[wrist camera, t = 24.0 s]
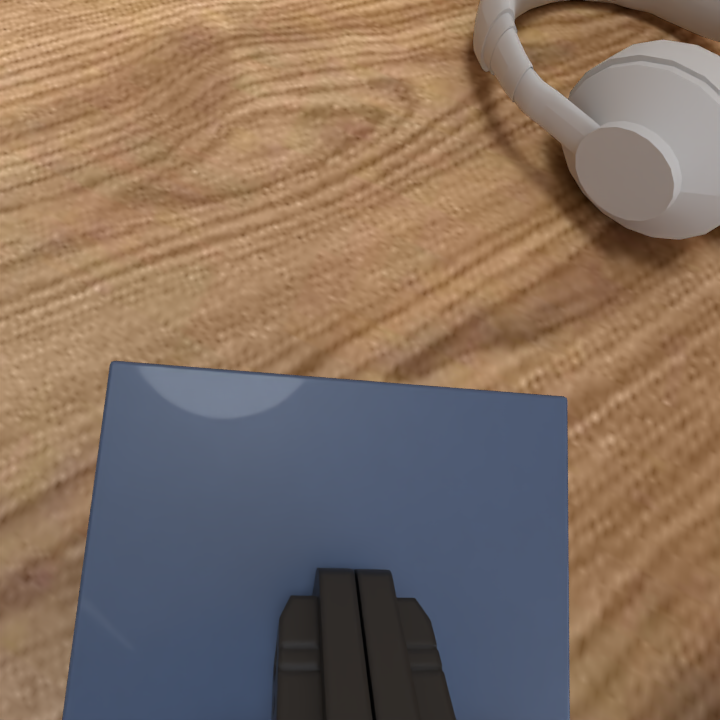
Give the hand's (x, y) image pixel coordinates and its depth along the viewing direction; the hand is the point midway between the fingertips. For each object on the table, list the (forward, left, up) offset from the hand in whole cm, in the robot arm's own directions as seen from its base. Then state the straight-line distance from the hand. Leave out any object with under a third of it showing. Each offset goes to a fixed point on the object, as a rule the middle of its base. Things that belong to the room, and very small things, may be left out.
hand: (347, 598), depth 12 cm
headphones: (+26, -17, -11) cm, 33 cm away
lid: (-2, 0, -2) cm, 2 cm away
